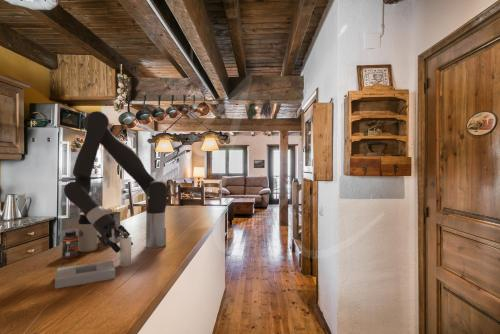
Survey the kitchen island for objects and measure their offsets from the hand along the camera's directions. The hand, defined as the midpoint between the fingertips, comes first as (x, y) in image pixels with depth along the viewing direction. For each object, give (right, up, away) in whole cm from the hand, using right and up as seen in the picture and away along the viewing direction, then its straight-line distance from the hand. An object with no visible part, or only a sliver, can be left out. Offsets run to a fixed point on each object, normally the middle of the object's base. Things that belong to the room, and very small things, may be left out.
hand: (125, 248), depth 117 cm
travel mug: (-27, -7, +20) cm, 34 cm away
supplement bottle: (-29, -7, +10) cm, 31 cm away
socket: (-8, -7, -14) cm, 17 cm away
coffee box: (-24, -7, +35) cm, 43 cm away
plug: (0, -7, 0) cm, 7 cm away
